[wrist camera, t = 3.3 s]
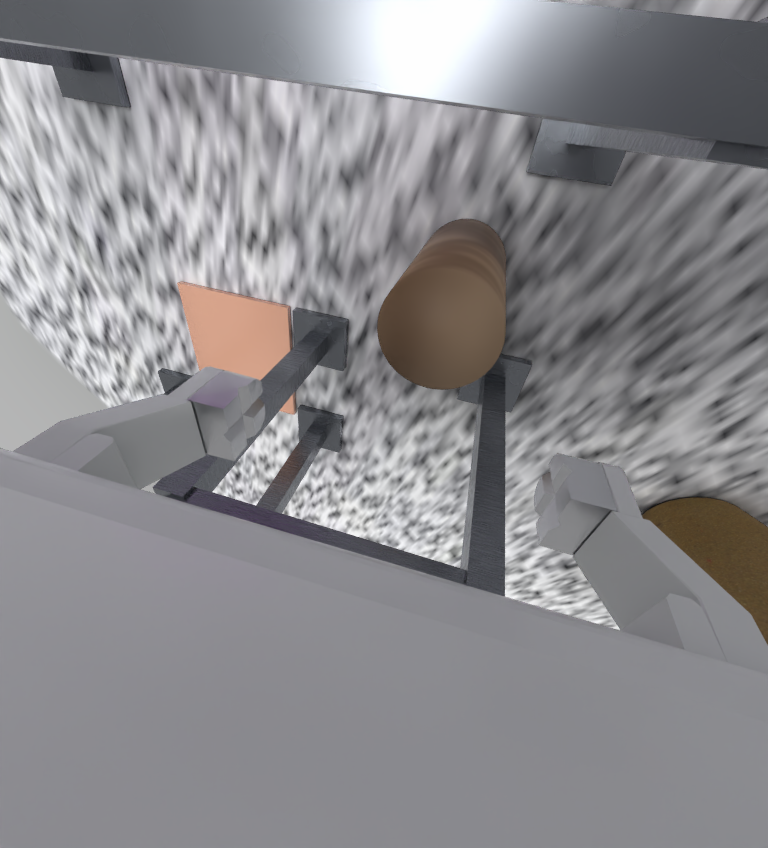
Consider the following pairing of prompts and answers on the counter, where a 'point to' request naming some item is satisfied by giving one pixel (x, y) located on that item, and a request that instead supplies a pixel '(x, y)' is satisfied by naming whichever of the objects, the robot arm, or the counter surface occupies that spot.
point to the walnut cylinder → (448, 308)
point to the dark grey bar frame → (444, 84)
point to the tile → (237, 332)
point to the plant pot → (721, 547)
